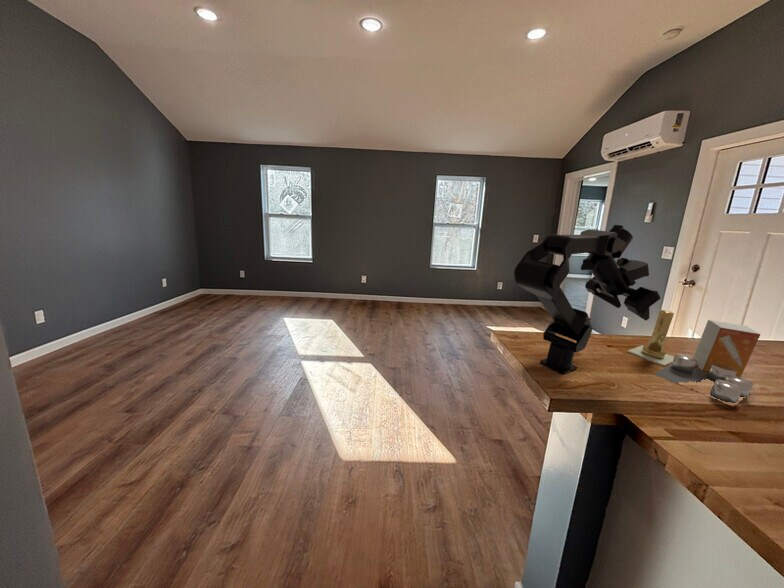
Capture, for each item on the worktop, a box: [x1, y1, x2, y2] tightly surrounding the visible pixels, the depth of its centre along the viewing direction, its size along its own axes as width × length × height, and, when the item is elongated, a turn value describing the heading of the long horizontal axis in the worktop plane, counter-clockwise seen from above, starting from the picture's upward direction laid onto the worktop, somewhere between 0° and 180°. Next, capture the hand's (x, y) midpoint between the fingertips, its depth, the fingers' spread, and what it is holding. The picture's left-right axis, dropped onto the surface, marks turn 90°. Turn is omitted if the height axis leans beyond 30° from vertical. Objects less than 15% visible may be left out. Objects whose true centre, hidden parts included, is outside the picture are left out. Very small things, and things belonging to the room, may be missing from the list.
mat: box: [653, 364, 709, 385], centre depth 80 cm, size 15×15×1 cm
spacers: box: [670, 353, 754, 403], centre depth 79 cm, size 15×15×4 cm
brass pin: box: [642, 309, 675, 359], centre depth 90 cm, size 5×5×13 cm
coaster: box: [627, 344, 675, 367], centre depth 92 cm, size 9×9×1 cm
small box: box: [692, 319, 761, 377], centre depth 85 cm, size 8×6×13 cm
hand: (632, 312), depth 86 cm, fingers open, 9 cm apart
